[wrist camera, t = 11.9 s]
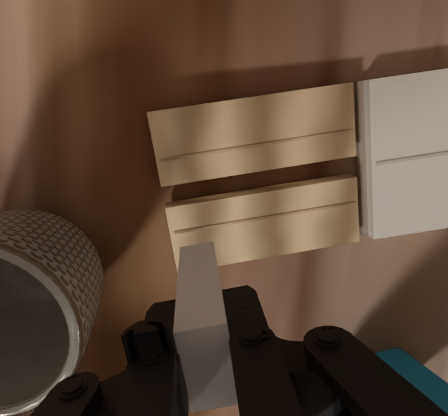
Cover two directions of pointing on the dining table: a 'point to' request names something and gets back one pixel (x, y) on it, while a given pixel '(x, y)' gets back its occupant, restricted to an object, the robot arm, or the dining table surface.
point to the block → (417, 376)
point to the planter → (43, 304)
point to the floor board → (402, 153)
